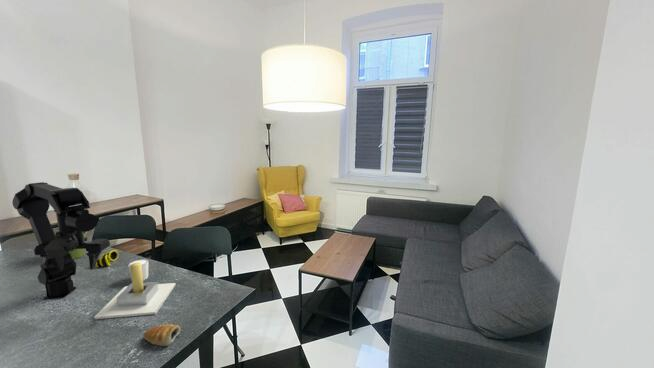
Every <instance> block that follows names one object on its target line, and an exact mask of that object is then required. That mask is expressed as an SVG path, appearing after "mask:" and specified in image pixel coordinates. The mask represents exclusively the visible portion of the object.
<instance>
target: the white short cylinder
mask: <svg viewBox="0 0 654 368" xmlns="http://www.w3.org/2000/svg"><path fill="white" fill-rule="evenodd" d="M138 262H139V263H141V266H142V276H143V282H144V281H145V279H146V280H147V279H148V278H149V260H148V259H145V258H143V259H137V260H133V261H131V262H129V263H128V265H127V266H128V270H129V275H130V276H131V269H130V265H131V264H133V263H138Z"/></svg>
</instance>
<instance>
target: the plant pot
mask: <svg viewBox="0 0 654 368" xmlns="http://www.w3.org/2000/svg"><path fill="white" fill-rule="evenodd" d="M83 233H84V238H86V235H87V233H88V231H87V232H83ZM69 253H70V254H71V257H72V259H73V260H76V259H79V258H81V257H83V256H84V255H85V249H74V251H69Z"/></svg>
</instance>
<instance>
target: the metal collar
mask: <svg viewBox="0 0 654 368" xmlns="http://www.w3.org/2000/svg"><path fill="white" fill-rule="evenodd" d="M158 284H159V282H158V281H151V282H150V281H149V282H147V281H146V282H143V287H144V291H143V292H142V293H133V288H132V282H131V283H130V284H129V285H127V286H128V287H127V288H126V289H125V290H124V291H123V292H122V293H121V294H120V295H119V296H118V297H117V304H118V307H125V306H138V305H147V304H148V303H149V301H150V300H151V299H152V298H153V296H154V295H155V294H156V292H157V291H158Z"/></svg>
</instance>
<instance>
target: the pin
mask: <svg viewBox="0 0 654 368" xmlns="http://www.w3.org/2000/svg"><path fill="white" fill-rule="evenodd" d="M130 269H131V275H130V278H131V283H132V288H133V293H142V292H143V291H144V287H143V283H144V281H143V276H142V266H141V263H139V262H138V263H133V264H131V265H130Z"/></svg>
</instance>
